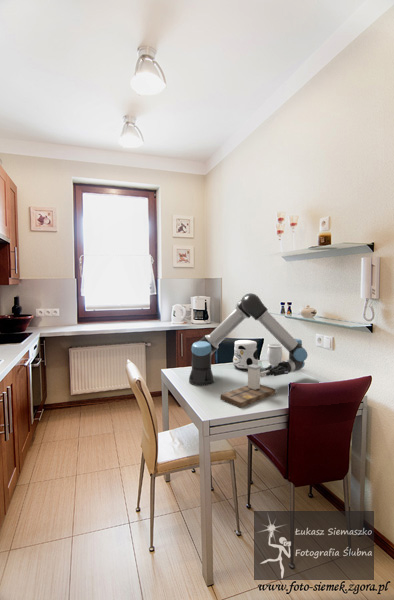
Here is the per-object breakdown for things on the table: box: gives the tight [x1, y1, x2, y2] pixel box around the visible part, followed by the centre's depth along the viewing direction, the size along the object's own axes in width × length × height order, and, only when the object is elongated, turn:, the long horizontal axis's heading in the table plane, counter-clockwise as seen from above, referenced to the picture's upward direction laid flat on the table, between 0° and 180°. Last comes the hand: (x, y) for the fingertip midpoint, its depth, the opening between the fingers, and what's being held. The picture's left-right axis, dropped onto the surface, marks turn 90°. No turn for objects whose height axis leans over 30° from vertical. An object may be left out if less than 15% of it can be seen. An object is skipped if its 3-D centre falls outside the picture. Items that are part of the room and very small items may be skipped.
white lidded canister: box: [247, 364, 262, 390], centre depth 172 cm, size 5×6×12 cm
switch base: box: [219, 383, 277, 408], centre depth 168 cm, size 28×14×3 cm, turn 130°
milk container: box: [232, 339, 259, 370], centre depth 221 cm, size 17×17×18 cm
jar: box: [266, 343, 283, 367], centre depth 225 cm, size 11×10×15 cm
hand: (261, 375), depth 176 cm, fingers closed
